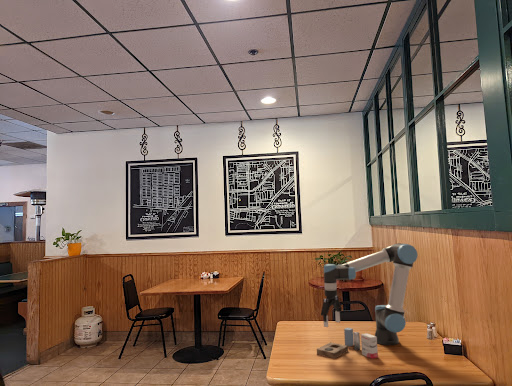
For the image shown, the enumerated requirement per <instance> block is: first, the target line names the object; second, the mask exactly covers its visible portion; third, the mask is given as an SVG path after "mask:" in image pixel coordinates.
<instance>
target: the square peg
mask: <svg viewBox="0 0 512 386" xmlns="http://www.w3.org/2000/svg"><path fill="white" fill-rule="evenodd" d="M353 332H354V328H351V327H346V328H344V329H343V333H344V345H345V346H348V347H352V346H354V335H353Z"/></svg>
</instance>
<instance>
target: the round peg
mask: <svg viewBox="0 0 512 386" xmlns="http://www.w3.org/2000/svg"><path fill="white" fill-rule="evenodd" d="M360 339H361V334H360V332H359V331H353V341H354V345H353V349H354V350H355V351H361V340H360Z"/></svg>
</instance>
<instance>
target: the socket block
mask: <svg viewBox="0 0 512 386" xmlns="http://www.w3.org/2000/svg"><path fill="white" fill-rule="evenodd" d="M348 351H349V346H347V345H345V344H340V343H335V342H329V343H326V344H325V345H323V346H320V347H318V348H316V355H318V356H323V357H327V358H330V359H331V358H332V359H337V358H339V357H340V356H342V355H344V354H346V353H348Z"/></svg>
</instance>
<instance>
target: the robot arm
mask: <svg viewBox="0 0 512 386" xmlns="http://www.w3.org/2000/svg"><path fill="white" fill-rule="evenodd" d="M418 257H419V256H418V251H417V249H416V247H415V246H413V245H411V244H409V243H400V242H399V243H394V244H392V245H389V246H386V247H384V248H382V249H381V250H380V251H377V252H373V253H372V254H368V255H365V256H361V257H360V258H357V259H354V260H350V261H348V262H345V263H343V264H337V265H336V264H333V263H327V264H324V265H323V282H324V284H323V285H324V296H325V297H326V298H323V301H322V303H323V304H322V305H321V306H322V307H321V312H320V315H321V316H323V317H322V318H323V319H322V320H323V327H325V328H328V327H329V315H328V313H329V311H330V308H331V307H332V306H333V308H334V310H335V312H334V314H335V316H334V317H335V323H338V324H340V323H341V313H342V309H343V308H342V305H341V302H340V299H339V296H338V290H337V288H338V287H337V286H338V285H337V281H338V280H355V279H356V275H357V272H360V271H362V270H367V269H369V268H371V267H375V266H378V265H381V264H384V263H391V262H392V264H393V265H394V268H393V269H394V271H393V276H392V280H391V281H392V282H391V286H390V291H389V296H388V297H389V298H388V302H387V304H380V305H375V307H374V309H375V310H374V313H375V326H376V329H375V333H374V336H376V337H377V344H378V345H385V346H392V345H393V346H394V345H398V344H399V343H400V341H399V340H400V339H399V336H398V334H397V333H400V332H402V331H403V330H404V329H405V327H406V323H407V322H406V319H405V313H406V312H405V310H404V308H403V307H404V302H405V295H406V291H407V286H408V280H409V273H410V270H411V269H412V268H413V267H414V263H415V262H416V261H417V259H418Z"/></svg>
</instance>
